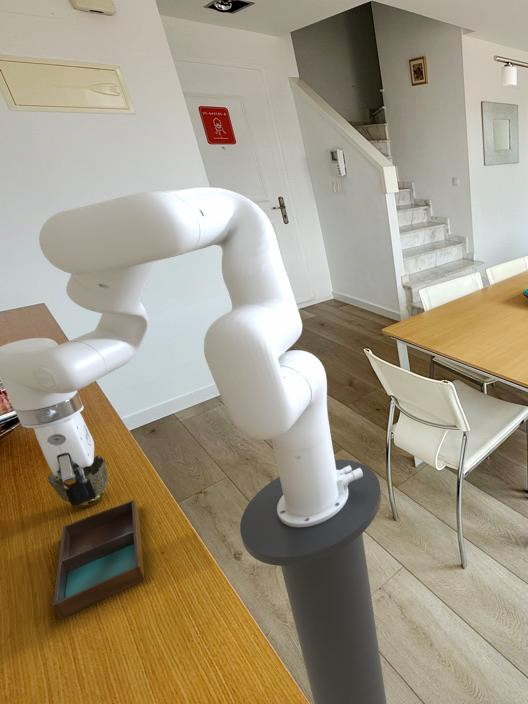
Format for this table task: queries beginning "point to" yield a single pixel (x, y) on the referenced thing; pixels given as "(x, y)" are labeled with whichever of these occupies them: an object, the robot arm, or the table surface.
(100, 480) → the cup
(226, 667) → the table surface
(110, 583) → the tray
